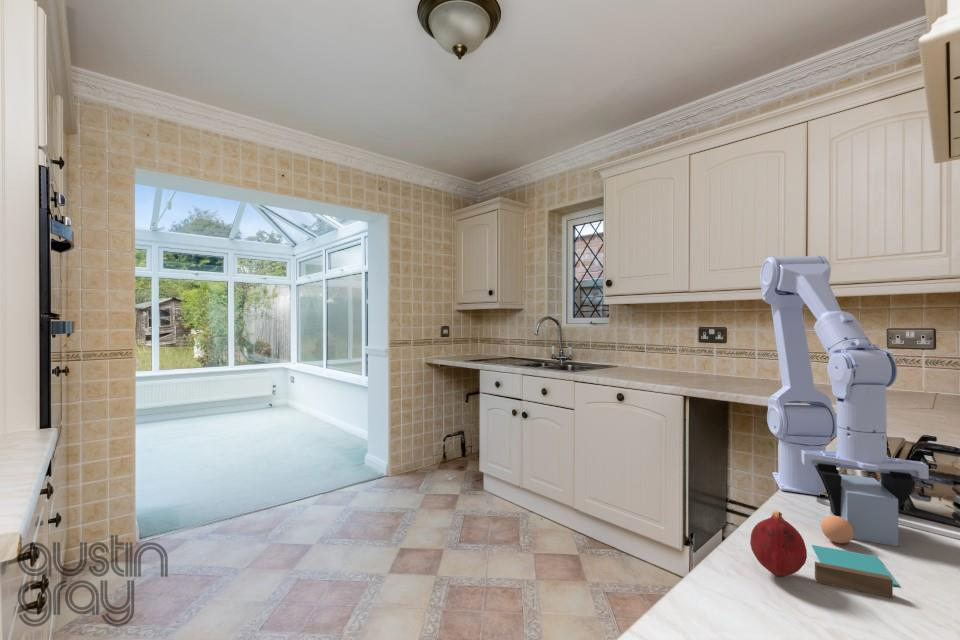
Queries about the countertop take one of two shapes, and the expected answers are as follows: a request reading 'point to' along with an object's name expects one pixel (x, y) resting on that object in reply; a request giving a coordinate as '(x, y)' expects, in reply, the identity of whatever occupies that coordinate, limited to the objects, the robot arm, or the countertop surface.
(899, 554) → the countertop surface
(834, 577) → the brown cuboid
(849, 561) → the mark
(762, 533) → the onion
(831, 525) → the egg
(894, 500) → the matte gray cuboid
